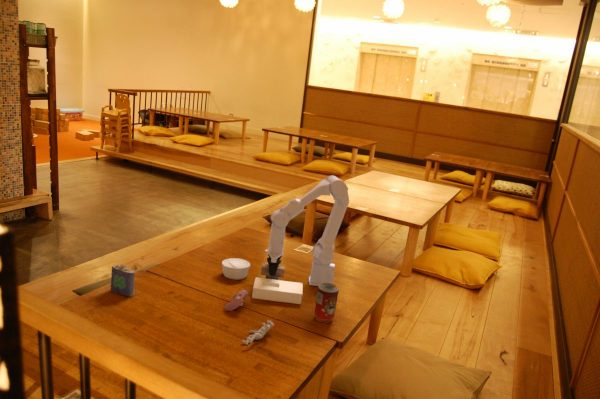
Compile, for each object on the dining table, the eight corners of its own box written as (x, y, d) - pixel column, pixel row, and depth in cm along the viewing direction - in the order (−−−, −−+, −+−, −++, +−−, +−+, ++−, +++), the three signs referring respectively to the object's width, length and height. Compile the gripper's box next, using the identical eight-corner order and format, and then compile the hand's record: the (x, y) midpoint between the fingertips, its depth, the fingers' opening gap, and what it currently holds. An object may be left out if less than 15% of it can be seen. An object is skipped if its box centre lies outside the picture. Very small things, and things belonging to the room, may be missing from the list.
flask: (135, 295, 162) (136, 266, 160) (129, 298, 160) (130, 268, 157) (114, 288, 166) (115, 259, 163) (107, 291, 163) (108, 262, 160)
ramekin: (215, 276, 187) (216, 263, 186) (229, 267, 198) (231, 255, 196) (240, 283, 184) (241, 270, 182) (253, 274, 194) (254, 262, 193)
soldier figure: (236, 343, 143) (256, 318, 153) (246, 355, 144) (266, 329, 153) (250, 335, 138) (270, 309, 148) (261, 348, 139) (280, 321, 148)
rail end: (282, 281, 191) (284, 266, 189) (282, 284, 187) (284, 269, 186) (260, 278, 190) (262, 263, 189) (259, 281, 187) (261, 266, 186)
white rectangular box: (301, 292, 182) (302, 283, 181) (301, 304, 173) (302, 294, 172) (254, 286, 182) (255, 277, 181) (251, 298, 172) (253, 287, 171)
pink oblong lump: (233, 317, 160) (244, 302, 158) (222, 309, 160) (233, 294, 158) (242, 305, 169) (252, 290, 167) (232, 297, 170) (242, 283, 168)
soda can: (323, 325, 159) (329, 291, 156) (309, 316, 164) (314, 283, 161) (338, 320, 164) (343, 287, 161) (323, 312, 169) (328, 280, 166)
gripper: (267, 234, 192) (264, 265, 195) (264, 245, 178) (260, 279, 181) (285, 236, 192) (281, 267, 195) (283, 247, 178) (279, 281, 181)
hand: (272, 273), depth 188 cm, fingers open, 4 cm apart
